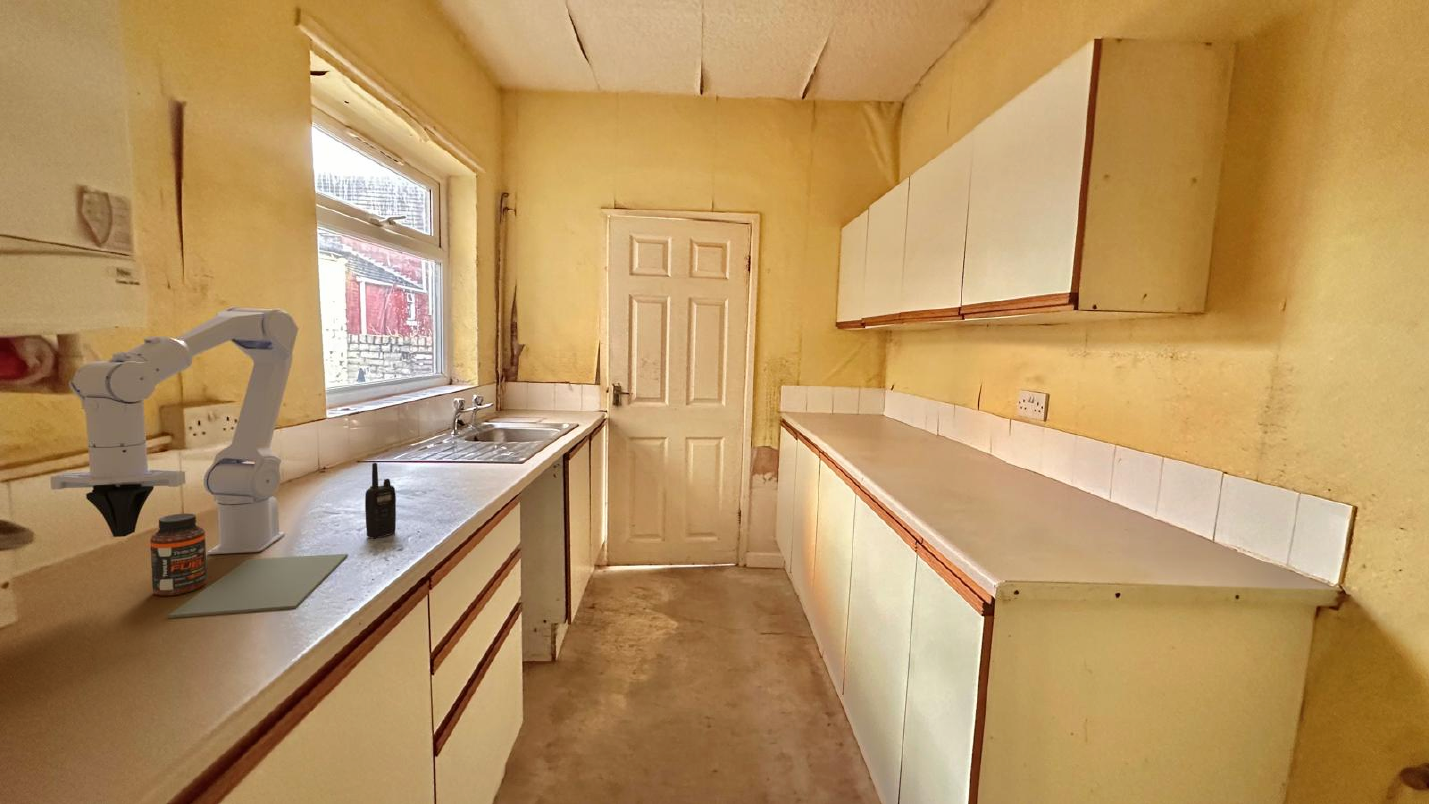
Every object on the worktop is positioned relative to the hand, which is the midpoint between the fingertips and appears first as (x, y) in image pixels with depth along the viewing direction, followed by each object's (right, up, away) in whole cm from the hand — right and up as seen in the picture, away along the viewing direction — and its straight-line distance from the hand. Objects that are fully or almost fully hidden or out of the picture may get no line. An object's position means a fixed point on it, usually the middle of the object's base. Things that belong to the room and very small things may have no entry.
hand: (124, 534), depth 81 cm
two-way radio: (+20, -7, +28) cm, 36 cm away
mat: (+17, -9, +6) cm, 20 cm away
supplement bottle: (+6, -9, +3) cm, 11 cm away
